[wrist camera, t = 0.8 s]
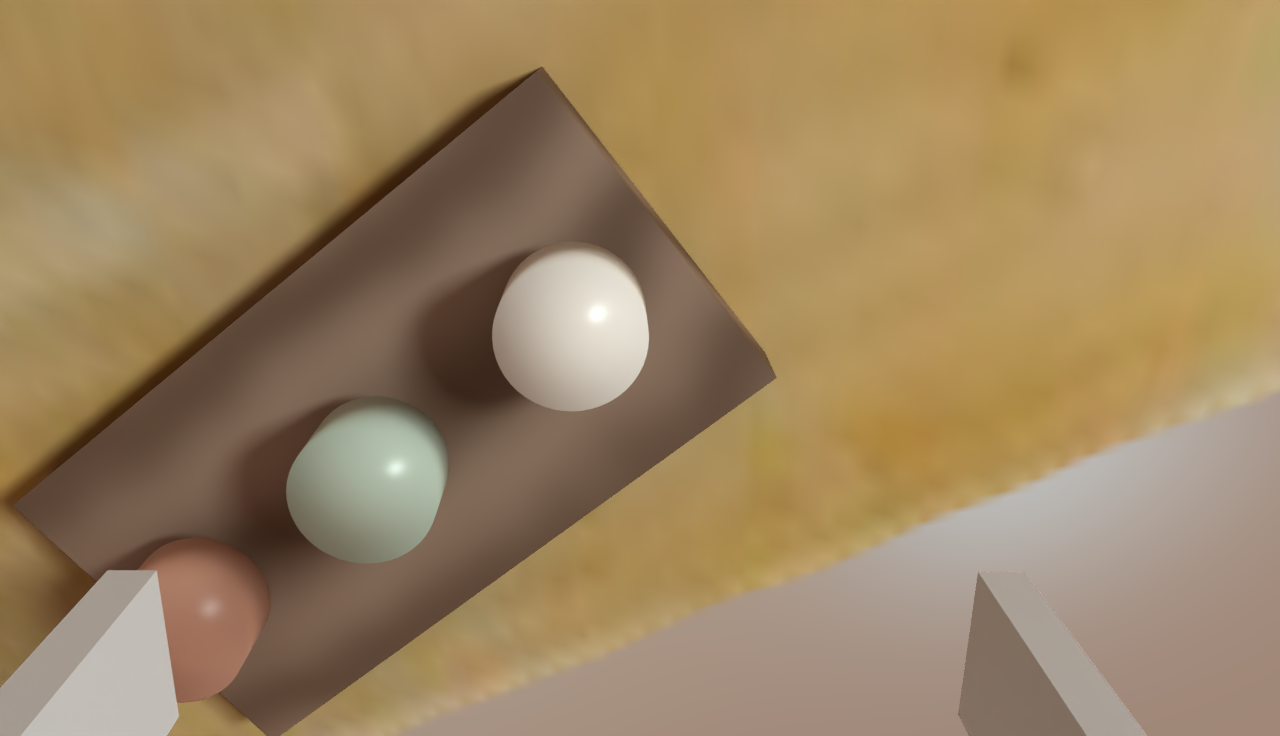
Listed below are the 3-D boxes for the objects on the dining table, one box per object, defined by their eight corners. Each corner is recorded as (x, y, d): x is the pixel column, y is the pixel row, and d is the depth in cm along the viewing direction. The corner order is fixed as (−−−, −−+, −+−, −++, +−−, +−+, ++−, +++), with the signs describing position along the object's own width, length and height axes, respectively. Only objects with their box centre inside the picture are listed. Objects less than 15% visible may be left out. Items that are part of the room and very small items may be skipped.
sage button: (281, 450, 37) (254, 487, 34) (385, 369, 36) (365, 399, 33) (376, 547, 38) (358, 589, 36) (478, 470, 37) (467, 508, 35)
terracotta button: (107, 587, 39) (68, 633, 36) (202, 513, 38) (169, 553, 35) (204, 675, 40) (173, 726, 37) (298, 605, 39) (274, 651, 36)
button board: (52, 472, 42) (12, 505, 39) (542, 66, 37) (536, 70, 35) (293, 696, 46) (272, 740, 43) (764, 352, 41) (776, 377, 38)
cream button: (471, 301, 35) (459, 326, 33) (584, 212, 34) (582, 229, 32) (563, 407, 37) (559, 440, 34) (674, 324, 36) (680, 350, 33)
